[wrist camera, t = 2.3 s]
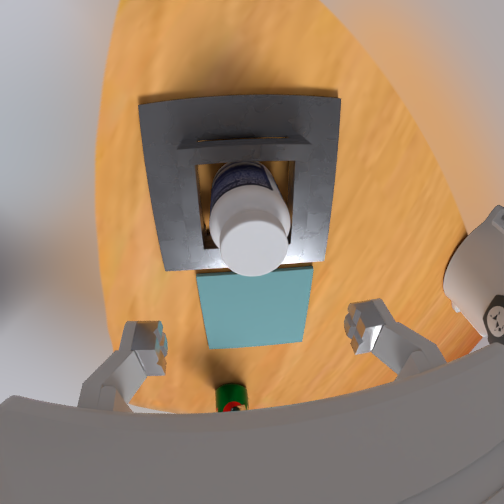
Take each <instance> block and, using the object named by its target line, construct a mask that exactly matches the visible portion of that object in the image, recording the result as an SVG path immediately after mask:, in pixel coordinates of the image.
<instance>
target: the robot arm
mask: <svg viewBox="0 0 504 504" xmlns="http://www.w3.org/2000/svg"><path fill="white" fill-rule="evenodd" d="M443 288H444V292H445V295H446V296H447V297H448V298H449V299H450V300H451V301H452V308H453V309H454V310H455V311H456V312H461V313H462V314H463V315H464V316H465V317H466V318H467V320H468V321H469V322H470V323H471V324H472V325H473V327H474V328H475V329H476V330H477V331H478V332H479V334H480V335H481V336H483V337H488V342H489V343H490V345H487V346H485V347H483V348H481V349H479V350H477V351H474V352H472V353H470V354H468V355H465V356H463V357H460V358H458V359H456V360H453V361H451V362H448V363H447V362H446V361H445V359H444V357H443V355H442V354H441V352H440V350H439V349H438V347H437V345H436V344H434V343H433V342H431V341H429V340H428V339H426V338H424V337H423V336H421V335H419V334H418V333H416V332H414V331H413V330H411V329H409V328H408V327H406V326H404V325H403V324H401V323H399V322H395V320H394V318H393V317H392V315H391V314H390V312H389V310H388V309H387V307H386V306H385V304H384V302H383V301H382V299H380V298H378V299H372V300H366V301H360V302H354V303H350V304H349V306H348V312H349V313H348V314H347V315H346V316H345V320H344V328H345V332H346V335H347V336H348V337H349V338H351V339H352V341H351V343H350V344H351V346H352V348H353V351H354V353H355V355H357V354H362V353H367V352H372V353H373V354H374V355H375V356H376V357H378V358H379V359H380V360H381V361H382V362H384V363H385V364H386V365H387V366H388V367H390V368H391V369H392V370H393V371H394V372H396V373H397V374H398V376H397V377H396V379H395V381H393V382H390V383H387V384H383V385H380V386H376V387H372V388H369V389H365V390H361V391H357V392H353V393H348V394H344V395H340V396H335V397H330V398H325V399H320V400H315V401H310V402H304V403H298V404H292V405H285V406H278V407H271V408H262V409H253V410H243V411H231V412H216V413H191V414H155V413H133V412H132V410H131V409H130V408H129V406H128V405H127V404H128V403H129V401H130V400H131V398H132V397H133V396H134V394H135V393H136V391H137V390H138V389H139V387H140V386H141V384H142V383H143V382H144V380H145V379H146V378H147V376H161V375H165V374H166V360H165V358H164V357H165V356H166V355H167V350H168V347H167V338H166V335H165V333H163V332H162V330H163V326H162V323H161V321H127V322H126V324H125V326H124V330H123V334H122V339H121V343H120V347H119V350H116V351H115V352H114V353H113V354H112V355H111V356H110V357H109V358H108V359H107V360H106V361H105V362H104V363H103V364H102V365H101V366H100V367H99V368H98V369H97V370H96V371H95V372H94V373H93V374H92V375H91V376H90V377H89V378H88V379H87V380H86V381H85V382H84V383H83V385H82V389H81V393H80V397H79V402H78V406H77V407H73V406H66V405H61V404H55V403H49V402H44V401H39V400H34V399H29V398H25V397H21V396H16V395H13V396H10V397H9V398H7V399H6V400H5V401H4V402H2V403H1V404H0V504H504V207H502V206H500V205H497V206H496V207H495V208H494V209H493V210H492V212H491V213H490V214H489V216H488V217H487V219H486V220H485V221H484V222H483V223H482V224H481V225H479V226H478V227H477V228H476V229H475V230H473V231H472V232H471V233H470V234H469V235H468V236H467V237H466V238H465V240H464V241H463V242H462V243H461V245H460V246H459V247H458V249H457V250H456V252H455V254H454V255H453V257H452V259H451V261H450V263H449V265H448V267H447V270H446V273H445V277H444V283H443Z"/></svg>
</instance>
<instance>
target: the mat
mask: <svg viewBox="0 0 504 504" xmlns="http://www.w3.org/2000/svg"><path fill="white" fill-rule="evenodd" d="M312 277H313V266H306V267H292V268H278V269H275V270H273V271H271V272H269V273H267V274H264V275H261V276H243V275H240V274H237V273H235V272H218V273H202V274H196V278H197V284H198V290H199V296H200V302H201V308H202V313H203V318H204V324H205V329H206V334H207V339H208V344H209V349H223V348H239V347H252V346H264V345H275V344H285V343H294V342H302V339H303V333H304V327H305V321H306V315H307V309H308V303H309V297H310V290H311V283H312Z"/></svg>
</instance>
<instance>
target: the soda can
mask: <svg viewBox="0 0 504 504" xmlns="http://www.w3.org/2000/svg"><path fill="white" fill-rule="evenodd" d="M215 396H216V412H231V411H243V410H249V404H248V394H247V390H246V388H245V387H243V386H242V385H240V384H236V383H228V384H224V385H221V386H220V387H219V388H218V389H217V390H216V392H215Z"/></svg>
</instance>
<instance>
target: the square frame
mask: <svg viewBox="0 0 504 504" xmlns="http://www.w3.org/2000/svg"><path fill="white" fill-rule="evenodd" d="M138 108H139V118H140V127H141V136H142V144H143V151H144V159H145V166H146V172H147V179H148V185H149V191H150V197H151V203H152V208H153V214H154V219H155V224H156V230H157V235H158V239H159V244H160V249H161V254H162V258H163V263H164V267H165V271H179V270H196V269H213V268H228V267H227V266H226V265H225V263H224V262H223V260H222V258H221V254H220V249H219V248H218V247H217V246H216V244H215V243H214V241H213V239H212V237H211V234H210V235H207V232H206V225H203V216H202V206H201V196H200V185H199V174H198V165H200V164H213V163H230V162H251V161H289V179H288V202H287V208H288V211H289V214H290V231H289V234H288V236H287V239H288V252H287V255H286V257H285V259H284V261H283V262H282V263H281V264H289V263H303V262H316V261H324V259H325V252H326V246H327V239H328V232H329V224H330V217H331V209H332V200H333V192H334V183H335V173H336V162H337V151H338V139H339V125H340V108H341V98H333V97H321V96H305V95H274V94H256V95H225V96H209V97H196V98H186V99H177V100H168V101H161V102H154V103H147V104H141V105H138ZM257 137H285V138H267V139H236V140H217V141H203V142H198V141H200V140H214V139H231V138H257Z"/></svg>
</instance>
